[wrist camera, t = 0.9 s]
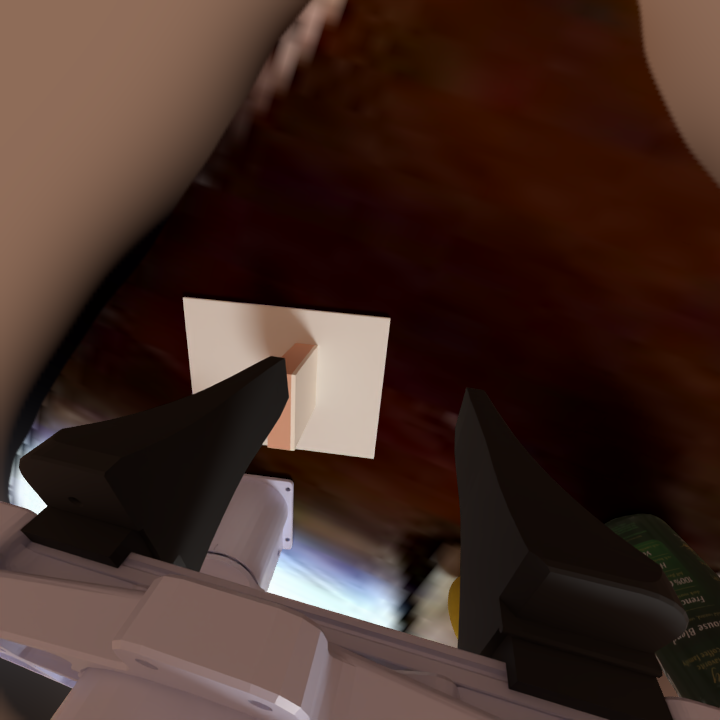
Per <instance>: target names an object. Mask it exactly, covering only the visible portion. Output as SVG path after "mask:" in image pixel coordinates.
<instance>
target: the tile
mask: <svg viewBox="0 0 720 720" xmlns="http://www.w3.org/2000/svg"><path fill="white" fill-rule="evenodd" d="M281 358H285V362H286V372H287V381H288V391H289V399H288V401H287V403H286V405H285V408H284V410H283V412H282V414H281V416H280V418H279V420H278V421H277V423H276V424H275V426H274V427H273V429H272V431H271V432H270V434H269V435H268V437H267V440H268V448H276V449H284V450H292V451H294V450H295V448H296V446H297V444H298V442H299V440H300V438H301V436H302V434H303V431H304V429H305V427H306V425H307V423H308V421H309V419H310V417H311V415H312V413H313V410H314V408H315V405H316V381H317V358H318V345H310V344H300V343H295V344H294V345H293V346H292V347H291V348H290V349H289V350H288V351H287V352H286V353H285V354H284V355H283V356H282V357H281Z"/></svg>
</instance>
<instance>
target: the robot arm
mask: <svg viewBox="0 0 720 720" xmlns="http://www.w3.org/2000/svg"><path fill="white" fill-rule="evenodd" d="M288 399H289V391H288V381H287V372H286V362H285V358H281V357H275V356H270V357H268V358H266V359H264V360H262V361H260V362H258V363H256V364H254V365H252V366H250V367H248V368H246V369H245V370H243V371H241V372H239V373H237V374H235V375H233V376H231V377H229V378H227V379H225V380H223V381H221V382H219V383H217V384H215V385H213V386H211V387H208V388H206V389H204V390H202V391H200V392H197V393H195V394H193V395H190V396H187V397H185V398H182V399H180V400H177V401H174V402H171V403H168V404H165V405H162V406H159V407H156V408H153V409H149V410H146V411H143V412H139V413H135V414H132V415H128V416H124V417H120V418H115V419H111V420H107V421H102V422H97V423H92V424H86V425H81V426H76V427H70V428H64V429H61V430H60V431H58V432H57V433H55V434H54V435H53V436H51V437H50V438H48V439H47V440H46V441H44V442H43V443H41V444H40V445H39V446H37V447H36V448H34V449H33V450H31V451H30V452H29V453H27V454H26V455H24V456H23V457H22V458H21V459H20V464H19V469H20V471H21V474H22V475H23V477H24V478H25V479H26V481H27V482H28V483H29V484H30V486H31V487H32V488H33V489H34V490H35V492H36V493H37V494H38V495H39V496H40V497H41V499H42V500H43V501H44V502H45V503H46V505H47V507H46V508H45V509H44V510H43V511H42V512H40V513H39V514H38V515H37V514H36V513H34V512H32V511H31V510H28V509H26V508H23V507H19V506H16V505H12V504H8V503H5V502H2V501H0V657H1V658H3V659H5V660H8V661H10V662H12V663H15V664H17V665H19V666H22V667H24V668H27V669H29V670H31V671H34V672H36V673H38V674H41V675H43V676H45V677H48V678H50V679H52V680H55V681H57V682H59V683H61V684H64V685H66V686H68V687H71V688H73V689H72V690H71V691H70V693H69V694H68V696H67V697H66V698H65V700H64V701H63V703H62V704H61V706H60V707H59V709H58V710H57V711H56V713H55V714H54V715H53V717H52V718H51V720H720V708H718V707H714V706H711V705H708V704H704V703H701V702H697V701H694V700H690V699H686V698H681V697H664V696H663V693H662V691H661V688H660V686H659V683H658V681H657V679H656V677H658V678H660V677H661V676H662V669H661V667H660V664H659V662H658V660H657V657H656V655H655V653H654V652H656V651H658V650H659V649H661V648H662V647H664V646H666V645H667V644H669V643H671V642H672V641H674V640H675V639H677V638H678V637H679V636H680V635H682V634H683V633H684V632H685V630H686V629H687V626H688V622H689V618H688V616H687V614H686V612H685V610H684V608H683V606H682V604H681V602H680V600H679V598H678V596H677V594H676V592H675V590H674V588H673V586H672V585H671V583H670V581H669V580H668V578H667V576H666V574H665V573H664V571H663V569H662V568H661V566H660V565H659V564H657V563H656V562H654V561H653V560H652V559H650V558H649V557H648V556H646V555H645V554H643V553H642V552H641V551H639V550H638V549H636V548H635V547H634V546H632V545H631V544H630V543H628V542H627V541H625V540H624V539H623V538H621V537H620V536H618V535H617V534H616V533H615V532H613V531H612V530H611V529H609V528H608V527H607V526H606V525H604V524H603V523H602V522H601V521H599V520H598V519H597V518H596V517H595V516H593V515H592V514H591V513H590V512H588V511H587V510H586V509H585V508H584V507H583V506H581V505H580V504H579V503H578V502H577V501H576V500H575V499H573V498H572V497H571V496H570V495H569V494H568V493H567V492H566V491H565V490H564V489H563V488H561V487H560V486H559V485H558V484H557V483H556V482H555V481H554V480H553V479H552V478H551V477H550V476H549V475H548V474H547V473H546V472H545V471H544V470H543V468H542V467H541V466H540V465H539V464H538V463H537V462H536V461H535V460H534V459H533V458H532V457H531V455H530V454H529V453H528V452H527V451H526V449H525V448H524V447H523V446H522V445H521V443H520V442H519V441H518V440H517V438H516V437H515V436H514V434H513V433H512V431H511V430H510V429H509V427H508V426H507V425H506V423H505V422H504V420H503V419H502V417H501V416H500V414H499V413H498V411H497V410H496V408H495V407H494V405H493V404H492V402H491V400H490V399H489V397H488V396H487V394H486V393H485V391H484V390H479V389H473V388H466V392H465V395H464V399H463V402H462V406H461V409H460V413H459V417H458V420H457V424H456V427H455V461H456V472H457V482H458V491H459V501H460V515H461V561H460V603H459V629H458V649H457V648H454V647H451V646H447V645H444V644H440V643H437V642H434V641H430V640H427V639H424V638H420V637H417V636H413V635H410V634H407V633H403V632H400V631H396V630H393V629H390V628H386V627H383V626H380V625H376V624H373V623H369V622H366V621H363V620H359V619H356V618H353V617H349V616H346V615H342V614H339V613H336V612H332V611H329V610H325V609H322V608H319V607H315V606H312V605H309V604H305V603H302V602H298V601H295V600H292V599H288V598H285V597H282V596H278V595H275V594H271V593H268V592H267V590H268V587H269V584H270V581H271V578H272V576H273V573H274V570H275V567H276V565H277V562H278V559H279V556H280V553H281V551H282V549H291V547H292V544H293V488H294V484H293V481H291V480H289V479H281V478H274V477H266V476H259V475H251V474H244V473H245V471H246V470H247V468H248V466H249V464H250V463H251V461H252V460H253V458H254V456H255V455H256V453H257V452H258V450H259V449H260V447H261V446H262V444H263V443H264V441H265V440H266V438H267V437H268V435H269V434H270V432H271V431H272V429H273V427H274V426H275V424H276V423H277V421H278V420H279V418H280V416H281V414H282V412H283V410H284V408H285V405H286V403H287V401H288ZM288 488H290V489H288Z"/></svg>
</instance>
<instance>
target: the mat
mask: <svg viewBox="0 0 720 720" xmlns="http://www.w3.org/2000/svg"><path fill="white" fill-rule="evenodd" d="M183 304H184V314H185V324H186V334H187V343H188V353H189V363H190V373H191V382H192V392H193V394H195V393H197V392H200V391H202V390H204V389H206V388H208V387H211V386H213V385H215V384H217V383H219V382H221V381H223V380H225V379H227V378H229V377H231V376H233V375H235V374H237V373H239V372H241V371H243V370H245V369H246V368H248V367H250V366H252V365H254V364H256V363H258V362H260V361H262V360H264V359H266V358H268V357H270V356H275V357H282V356H283V355H284V354H285V353H286V352H287V351H288V350H289V349H290V348H291V347H292V346H293V345H294V344H295V343H300V344H310V345H318V358H317V381H316V405H315V408H314V410H313V413H312V415H311V417H310V419H309V421H308V423H307V425H306V427H305V429H304V431H303V434H302V436H301V438H300V440H299V442H298V444H297V446H296V448H295V449H301V450H309V451H317V452H325V453H332V454H340V455H348V456H356V457H364V458H372V459H374V452H375V443H376V435H377V426H378V418H379V410H380V401H381V393H382V384H383V376H384V368H385V359H386V351H387V342H388V334H389V326H390V318H387V317H378V316H368V315H358V314H348V313H338V312H329V311H319V310H309V309H299V308H289V307H279V306H270V305H260V304H250V303H240V302H230V301H221V300H211V299H201V298H191V297H183ZM262 445H268V440H267V438H266V440H265V441H264V443H263V444H262Z"/></svg>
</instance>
